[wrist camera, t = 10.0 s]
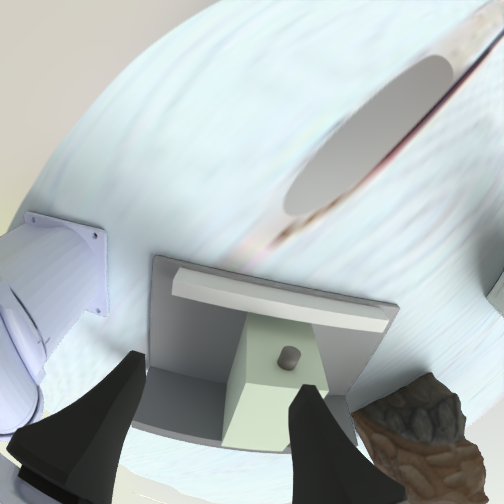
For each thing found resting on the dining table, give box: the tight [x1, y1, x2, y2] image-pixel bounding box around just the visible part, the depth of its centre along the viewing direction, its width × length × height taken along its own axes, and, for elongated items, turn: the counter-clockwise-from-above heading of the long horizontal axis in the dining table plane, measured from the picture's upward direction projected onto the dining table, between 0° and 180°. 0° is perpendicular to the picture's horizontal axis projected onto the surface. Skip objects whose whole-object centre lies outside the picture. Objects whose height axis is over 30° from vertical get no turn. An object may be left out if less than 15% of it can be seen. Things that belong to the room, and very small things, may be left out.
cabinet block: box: [221, 312, 329, 451], centre depth 18 cm, size 5×10×7 cm, turn 167°
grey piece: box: [131, 255, 400, 454], centre depth 19 cm, size 20×13×7 cm, turn 76°
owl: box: [351, 372, 489, 504], centre depth 18 cm, size 13×13×20 cm
